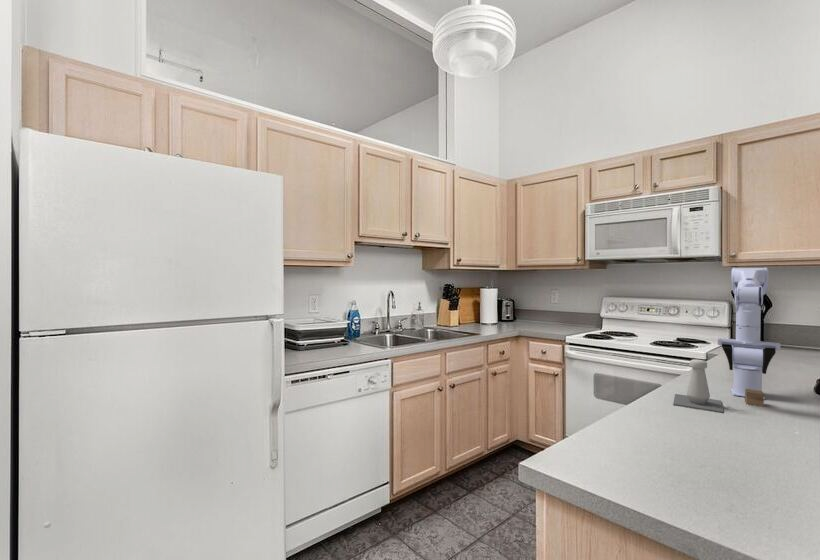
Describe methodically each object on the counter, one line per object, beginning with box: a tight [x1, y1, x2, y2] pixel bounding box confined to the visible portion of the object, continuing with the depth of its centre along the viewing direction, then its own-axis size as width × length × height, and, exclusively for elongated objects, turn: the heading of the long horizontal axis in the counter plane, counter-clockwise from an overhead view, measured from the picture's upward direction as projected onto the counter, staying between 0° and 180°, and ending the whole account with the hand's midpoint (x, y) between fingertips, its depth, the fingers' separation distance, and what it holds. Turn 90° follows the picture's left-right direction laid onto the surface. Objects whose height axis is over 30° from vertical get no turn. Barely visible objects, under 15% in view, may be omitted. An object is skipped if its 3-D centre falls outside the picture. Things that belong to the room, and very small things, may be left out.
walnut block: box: [744, 389, 765, 408], centre depth 125 cm, size 4×4×4 cm
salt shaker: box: [686, 358, 711, 405], centre depth 124 cm, size 6×6×13 cm
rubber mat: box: [672, 393, 724, 414], centre depth 125 cm, size 13×12×1 cm
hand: (747, 371), depth 123 cm, fingers open, 7 cm apart
